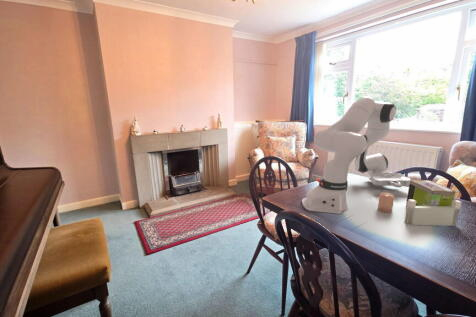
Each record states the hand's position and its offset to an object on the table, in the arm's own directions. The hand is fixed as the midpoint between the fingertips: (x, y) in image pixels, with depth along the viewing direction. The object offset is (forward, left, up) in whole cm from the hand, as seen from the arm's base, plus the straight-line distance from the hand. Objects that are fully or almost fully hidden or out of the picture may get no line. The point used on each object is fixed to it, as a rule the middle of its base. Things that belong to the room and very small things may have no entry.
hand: (398, 185), depth 127 cm
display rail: (-4, -30, -7) cm, 31 cm away
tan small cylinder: (-16, -17, -7) cm, 24 cm away
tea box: (+1, -20, -7) cm, 22 cm away
